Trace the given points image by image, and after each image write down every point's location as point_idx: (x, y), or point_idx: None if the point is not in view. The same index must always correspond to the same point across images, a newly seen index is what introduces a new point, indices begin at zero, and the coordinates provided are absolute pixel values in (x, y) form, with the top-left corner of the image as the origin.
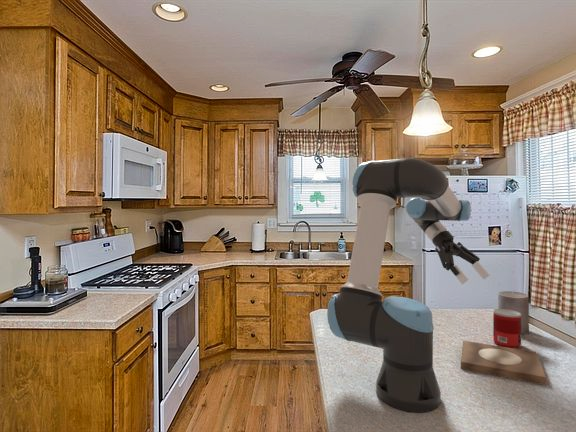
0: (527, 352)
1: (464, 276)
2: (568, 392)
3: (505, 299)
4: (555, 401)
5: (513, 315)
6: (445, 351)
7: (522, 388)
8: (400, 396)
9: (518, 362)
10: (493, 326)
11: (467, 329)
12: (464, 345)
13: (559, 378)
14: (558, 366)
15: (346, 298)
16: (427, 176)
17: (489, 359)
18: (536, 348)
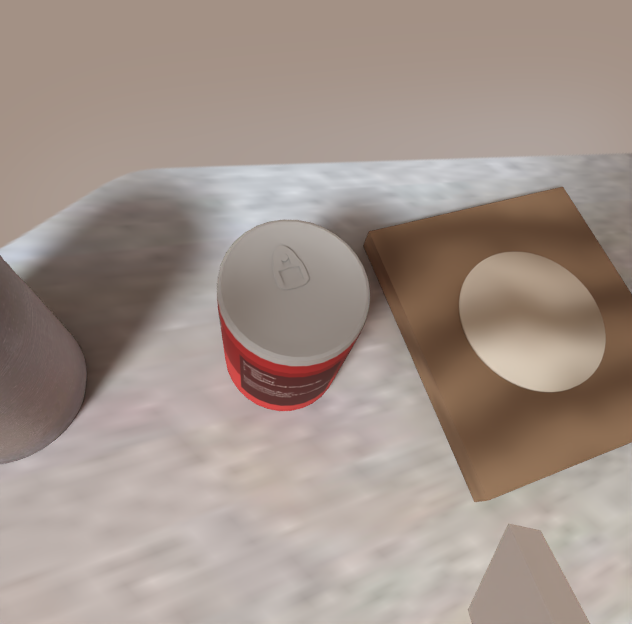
0: (399, 253)
1: (568, 589)
2: (542, 161)
3: None
4: (619, 178)
5: (345, 244)
6: (600, 540)
7: (627, 242)
8: None
9: (532, 257)
10: (313, 388)
11: (178, 603)
12: (544, 467)
13: (472, 180)
14: (378, 188)
15: None
16: None
17: (597, 335)
18: None
